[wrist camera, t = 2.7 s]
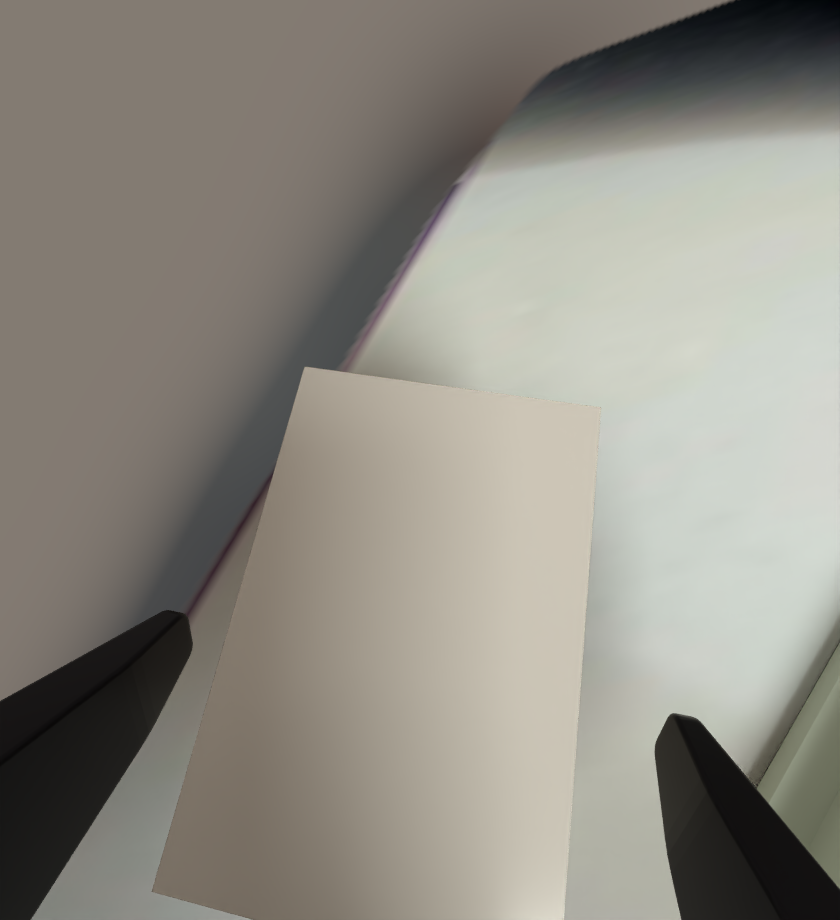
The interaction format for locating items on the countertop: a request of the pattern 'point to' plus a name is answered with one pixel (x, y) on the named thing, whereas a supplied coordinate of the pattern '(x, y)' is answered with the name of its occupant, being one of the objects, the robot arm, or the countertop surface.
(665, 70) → the countertop surface
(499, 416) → the beige rectangular box
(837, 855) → the tile rack
